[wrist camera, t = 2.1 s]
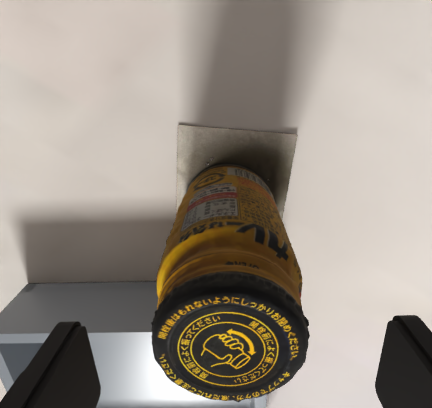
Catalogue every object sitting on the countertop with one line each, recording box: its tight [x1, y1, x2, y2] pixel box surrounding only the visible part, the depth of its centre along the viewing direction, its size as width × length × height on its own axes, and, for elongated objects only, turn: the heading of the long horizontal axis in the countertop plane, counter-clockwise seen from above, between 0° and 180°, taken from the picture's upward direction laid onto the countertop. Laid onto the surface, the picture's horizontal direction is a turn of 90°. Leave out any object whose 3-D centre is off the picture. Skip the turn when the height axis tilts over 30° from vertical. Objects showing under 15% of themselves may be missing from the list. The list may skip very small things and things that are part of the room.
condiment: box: [151, 125, 310, 402], centre depth 15 cm, size 7×8×12 cm
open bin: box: [0, 281, 267, 408], centre depth 25 cm, size 18×18×5 cm
